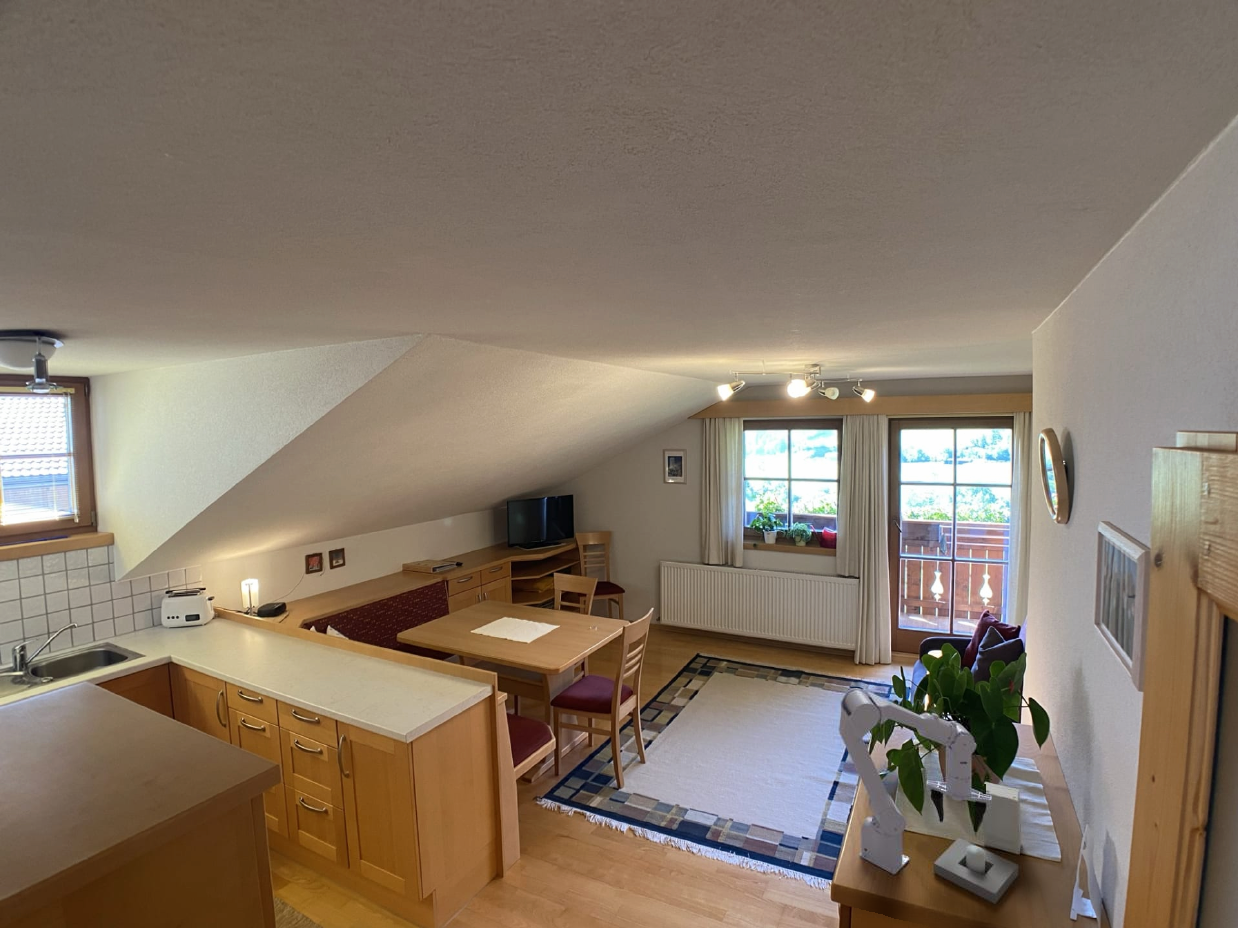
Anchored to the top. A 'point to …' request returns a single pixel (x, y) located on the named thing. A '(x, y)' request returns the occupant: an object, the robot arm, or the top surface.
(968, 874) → the dock
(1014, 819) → the skincare box
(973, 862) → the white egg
